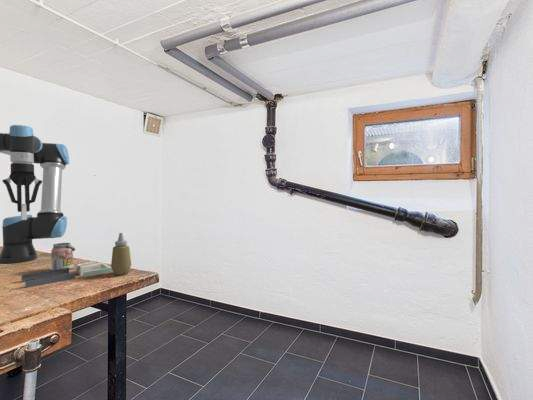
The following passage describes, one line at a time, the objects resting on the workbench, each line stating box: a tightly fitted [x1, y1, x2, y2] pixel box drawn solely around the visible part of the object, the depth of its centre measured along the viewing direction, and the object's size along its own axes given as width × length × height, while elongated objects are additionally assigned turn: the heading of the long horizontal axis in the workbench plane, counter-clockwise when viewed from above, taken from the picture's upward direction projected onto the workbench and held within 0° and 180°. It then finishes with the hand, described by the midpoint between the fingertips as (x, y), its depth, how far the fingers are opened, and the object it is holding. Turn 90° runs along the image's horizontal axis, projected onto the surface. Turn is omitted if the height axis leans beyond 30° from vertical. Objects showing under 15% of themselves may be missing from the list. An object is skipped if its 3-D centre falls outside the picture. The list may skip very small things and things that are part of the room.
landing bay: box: [75, 262, 113, 278], centre depth 130 cm, size 12×11×2 cm
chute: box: [20, 268, 76, 288], centre depth 118 cm, size 11×16×2 cm
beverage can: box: [50, 242, 76, 271], centre depth 134 cm, size 9×8×12 cm
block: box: [76, 261, 102, 277], centre depth 129 cm, size 6×8×4 cm
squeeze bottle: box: [110, 232, 132, 276], centre depth 127 cm, size 8×8×18 cm
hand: (23, 219), depth 121 cm, fingers closed
